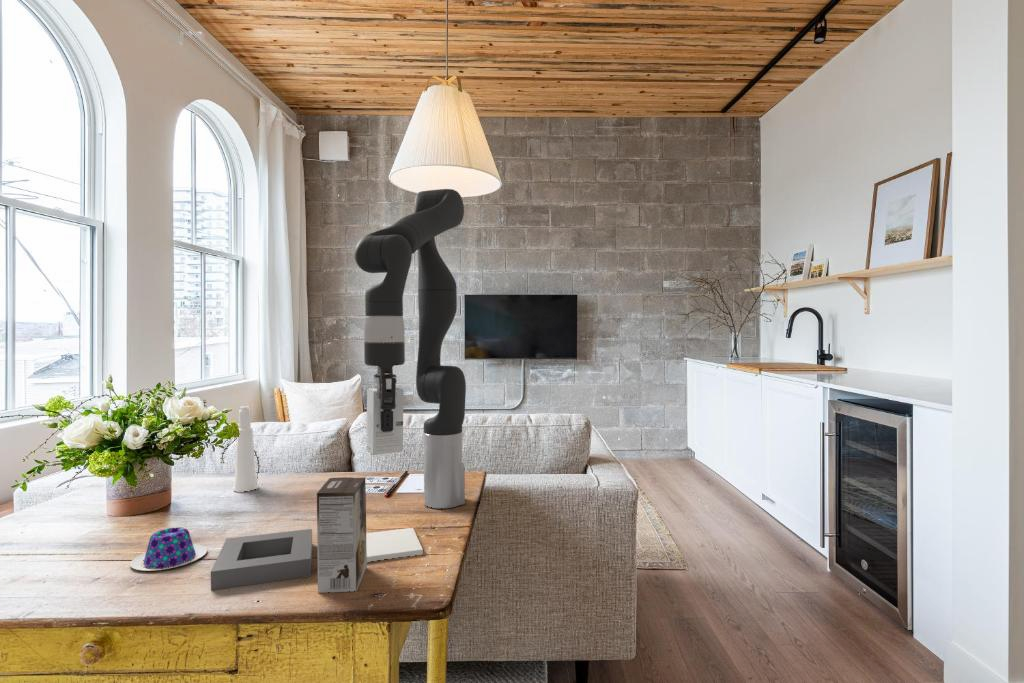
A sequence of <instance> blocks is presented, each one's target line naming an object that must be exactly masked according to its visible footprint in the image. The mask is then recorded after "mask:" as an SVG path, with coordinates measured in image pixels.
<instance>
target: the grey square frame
mask: <svg viewBox="0 0 1024 683" xmlns="http://www.w3.org/2000/svg"><path fill="white" fill-rule="evenodd" d="M312 553H313V528H307V529H297V530H291V531H289V530H288V531H282V532H281V531H280V532H274V533H264V534H254V535H253V534H252V535H248V536H245V535H244V536H238V537H237V536H236V537H230V538H225V541H224V543H223V545H222V547H221V549H220V552H219V553H218V555H217V556H216V557H217V558H216V560H215V562H214V563H213V566H212V567H211V570H210V591H213V590H214V591H215V590H221V589H222V590H223V589H229V588H230V589H231V588H235V587H236V588H237V587H242V586H243V587H244V586H250V585H258V584H264V583H271V582H278V581H284V580H285V581H286V580H293V579H300V578H308V577H311V574H312V573H311V572H312V558H313V557H312V556H313V554H312Z"/></svg>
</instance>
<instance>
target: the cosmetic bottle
mask: <svg viewBox="0 0 1024 683" xmlns="http://www.w3.org/2000/svg"><path fill="white" fill-rule="evenodd" d="M251 421H252V420H251V409H250V406H249V405H242V406H240V407H239V411H238V429H239V433H240V436H239V437H237V436H236V448H235V449H236V450H235V451H236V452H235V470H234V481H233V487H232V492H234V491H237V492H236V493H245V492H244V491H248V492H251V491H250V490H253V491H255V490H254V489H256V490H258V488H259V484H258V480H257V473H256V464H255V450H254V448H255V447H254V433H253V431H254V430H253V428H252V426H251ZM238 491H239V492H238Z"/></svg>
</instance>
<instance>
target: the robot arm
mask: <svg viewBox="0 0 1024 683" xmlns="http://www.w3.org/2000/svg"><path fill="white" fill-rule="evenodd" d="M464 215H465V206H464V202H463V198H462V196H461V194H460V193H459V192H458V191H457V190H455V189H452V188H442V189H441V188H440V189H439V188H438V189H431V190H421V191H419V192H417V194H416V196H415V197H414V206H413V213H411V214H407V215H405V216H403V217H401V218H400V219H398V220H397V221H396V222H394V223H393V224H391V225H390V226H389V227H386V228H382V229H379V230H376V231H374V232H370V233H369V234H366V235H364V236H363V237H361V239H359V241H358V242H357V244H356V246H355V250H354V260H355V262H356V264H357V266H358V267H359V269H361V270H362V271H363V272H365V273H369V274H379V273H383V274H385V273H386V274H385V276H384V279H383V280H382V281H381V282H380V283H377V284H375V285H374V284H373V285H371V286H369V287H367V288H366V290H365V294H364V302H365V304H364V305H365V307H364V308H365V310H364V311H365V315H364V316H365V319H364V320H365V321H364V324H363V325H364V327H363V336H364V342H363V343H364V344H363V346H364V347H363V348H364V350H363V351H364V357H363V358H364V365H366V366H370V367H377V368H376V369H377V370H376V371H377V372H376V373H375V374H373V384H374V388H377V398H378V399H379V400H380V412H381V431H382V432H391V431H393V411H394V409H395V407H396V404H395V397H396V388H397V386H396V385H397V382H398V380H397V375H396V374H394V372H393V371H394V368H393V367H394V366H402V365H404V364H405V362H406V357H405V356H406V354H405V350H406V349H405V346H406V345H405V344H406V343H405V323H404V317H403V316H404V303H403V302H404V301H403V300H404V298H403V296H404V293H405V288H406V283H407V279H408V276H409V275H408V274H409V272H410V268H411V264H412V259H413V258H412V257H413V254H414V253H415V252H416V251H417V263H418V264H417V266H418V269H417V270H418V275H417V276H418V279H417V280H418V284H417V294H418V295H417V298H418V300H417V301H418V302H417V304H418V347H417V348H418V349H417V362H416V373H415V374H416V376H415V384H416V385H415V387H416V392H417V395H418V397H419V399H420V400H421V402H424V403H427V404H428V403H429V404H438V405H439V406H438V413H437V414H436V415H435V416H433V417H430V418H427V419H425V421H424V422H423V501H424V502H423V503H424V505H425V507H427V506H428V508H431V507H432V509H441V508H442V509H451V508H455V507H458V506H461V505H465V504H466V483H465V482H466V475H465V474H466V472H465V471H466V465H465V464H464V463H463V426H464V425H463V424H464V422H465V418H466V417H465V415H466V414H465V413H466V397H467V396H466V395H467V386H466V384H467V382H466V376H465V374H464V371H463V370H462V369H461V368H460V367H458V366H455V365H442V364H441V351H442V346H443V342H444V339H445V337H446V335H447V333H448V331H449V329H450V327H451V325H452V323H453V321H454V319H455V317H456V313H457V309H458V308H457V307H458V303H457V302H458V298H457V297H458V294H457V293H458V292H457V291H458V289H457V281H456V280H455V277H454V276H453V274H452V272H451V271H450V269H449V267H448V266H447V265H446V263H445V261H444V260H443V258H442V256H441V254H440V253H439V250H438V248H437V244H436V239H435V238H436V237H438V236H439V235H440V234H442V233H444V232H447V231H449V230H451V229H454V228H456V227H459V226H460V224H461V223H462V221H463V219H464ZM380 390H381V393H380ZM387 399H389V400H390V402H391V403H384V400H387Z"/></svg>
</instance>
